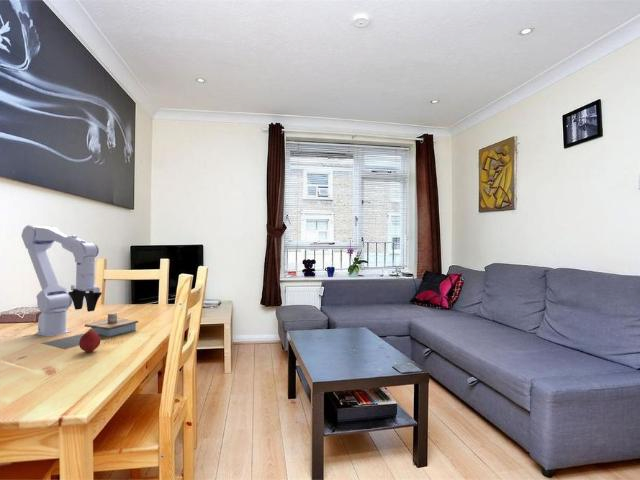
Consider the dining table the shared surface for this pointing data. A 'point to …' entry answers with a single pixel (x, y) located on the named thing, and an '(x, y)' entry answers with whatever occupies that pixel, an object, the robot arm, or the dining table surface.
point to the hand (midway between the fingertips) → (84, 310)
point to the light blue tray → (115, 330)
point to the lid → (111, 322)
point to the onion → (89, 341)
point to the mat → (66, 342)
